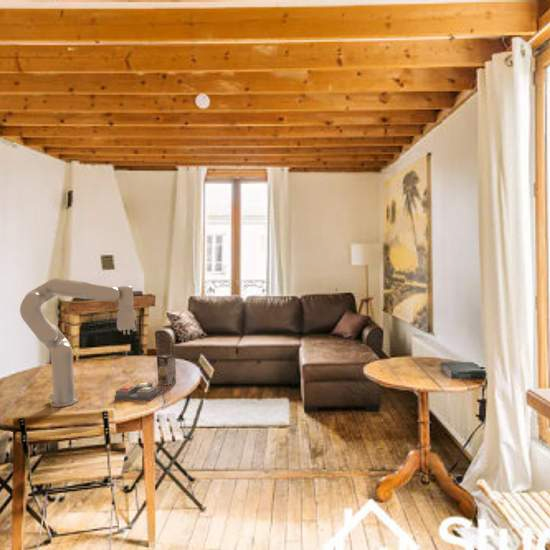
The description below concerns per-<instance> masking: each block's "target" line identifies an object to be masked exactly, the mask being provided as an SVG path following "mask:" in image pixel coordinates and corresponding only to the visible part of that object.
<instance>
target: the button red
mask: <svg viewBox="0 0 550 550" xmlns="http://www.w3.org/2000/svg"><path fill="white" fill-rule="evenodd" d="M126 386H127V387H123V386H122V387H120V388H121V390H122V391H128V390H129V389H131V386H128V385H126Z"/></svg>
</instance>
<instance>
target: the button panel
mask: <svg viewBox="0 0 550 550" xmlns="http://www.w3.org/2000/svg"><path fill="white" fill-rule="evenodd" d="M140 383H141V382H139V383H138V384H140ZM147 383H148V385H147V386H145V387H151V390H150V391H142V388H145V387H142V386H139V385H138V384H136V385H134V386H130V387H131V389H129V390H128V391H122V390H121V388H122V387H127V386H128V385H126V386H122V387H120V388H118V389H116V390H115V395H114V400H116V401H134V400H145V401H144V402H151V401H153V400H154V399H155V398H157V397H158V396H159V395H161V394H162V393H163V392H162V391H164V392H165V387H157V386H156V387H155V386H154V385H153V382H147ZM161 392H162V393H161ZM160 393H161V394H160ZM158 394H159V395H158ZM157 395H158V396H157ZM156 396H157V397H156ZM153 398H154V399H153ZM150 400H151V401H150Z"/></svg>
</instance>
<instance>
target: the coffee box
mask: <svg viewBox="0 0 550 550" xmlns="http://www.w3.org/2000/svg"><path fill="white" fill-rule="evenodd" d="M156 365H157V366H156V367H157V382H158V384H159V383H162V384H161V385H163V384H166V385H165V386H167V385H169V384H172V383H174V384H176V383H177V370H176V356H175V355H173V354H166V353H164V354H160V355H157V356H156ZM175 382H176V383H175ZM172 385H173V384H172ZM169 386H170V385H169Z"/></svg>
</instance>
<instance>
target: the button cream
mask: <svg viewBox="0 0 550 550" xmlns="http://www.w3.org/2000/svg"><path fill="white" fill-rule="evenodd" d="M139 383H140V384H139ZM139 383H138V384H137V385H139V386H142V387H145V386H147V385H148V383H149V382H139Z"/></svg>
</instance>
